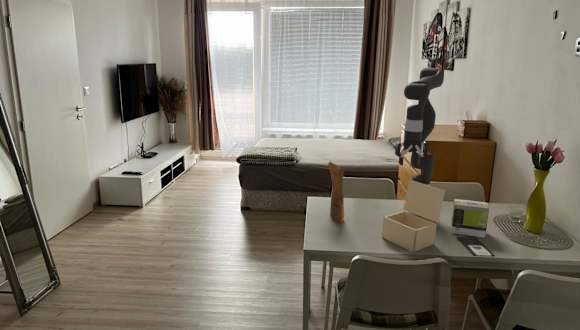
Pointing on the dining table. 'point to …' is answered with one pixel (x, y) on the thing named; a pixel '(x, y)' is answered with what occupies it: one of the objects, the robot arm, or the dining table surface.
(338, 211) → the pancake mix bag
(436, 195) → the carton flap
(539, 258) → the dining table surface
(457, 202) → the tea box
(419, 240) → the carton
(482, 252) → the chocolate bar
